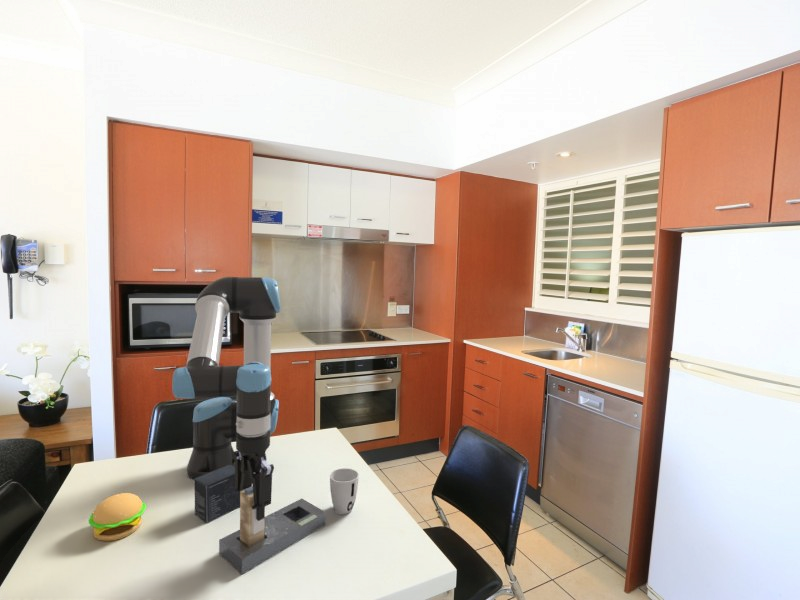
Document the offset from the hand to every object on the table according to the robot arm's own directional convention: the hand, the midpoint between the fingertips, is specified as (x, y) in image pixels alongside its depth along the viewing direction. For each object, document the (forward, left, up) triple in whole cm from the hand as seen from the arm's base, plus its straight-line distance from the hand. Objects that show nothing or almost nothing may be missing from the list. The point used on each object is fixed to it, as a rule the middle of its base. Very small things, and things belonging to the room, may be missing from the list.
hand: (252, 526), depth 97 cm
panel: (0, +6, -6) cm, 9 cm away
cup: (+3, +27, -6) cm, 28 cm away
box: (-22, +3, -6) cm, 23 cm away
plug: (0, 0, -5) cm, 5 cm away
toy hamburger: (-32, -18, -6) cm, 37 cm away
